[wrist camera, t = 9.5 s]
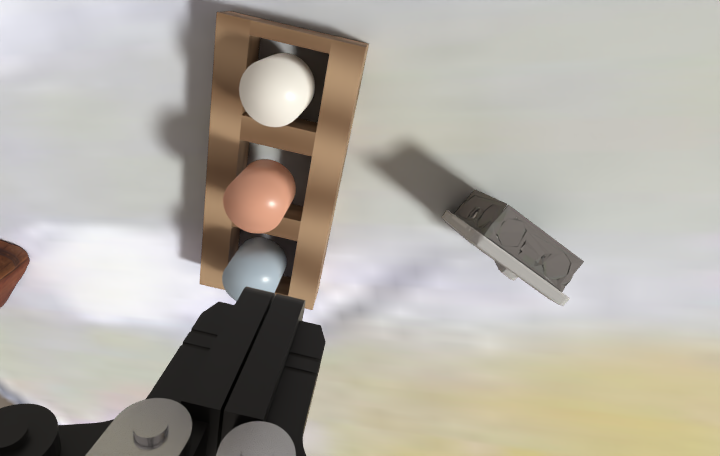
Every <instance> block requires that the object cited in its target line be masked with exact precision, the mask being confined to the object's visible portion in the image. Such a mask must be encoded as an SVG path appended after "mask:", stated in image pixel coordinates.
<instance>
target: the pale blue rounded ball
mask: <svg viewBox="0 0 720 456" xmlns="http://www.w3.org/2000/svg"><path fill="white" fill-rule="evenodd" d="M286 264H287V261H286V256H285V253H284V251H283V250H282V248H281V247H280V246H279V245H278V244H276V243H275V242H273V241H272V240H269V239H266V238H261V237H256V238H251V239H248V240H246V241H245V242H244V243H243V244H242V245H241V246H240V248H239V249H238V251H237V252H236V253H235V255H234V256H233V258H232V259H231V261H230V262H229V264H228V265H227V267H226V268H225V270H224V272H223V275H222V282H223V286H224V288H225V290H226V292H227V293H228V294H229V295H230V296H231V297H232V298H233V299H234V300H236V301H237V300H238V298H239V296H240V295H241V293H242V291H243V289H244V288H245V287H246V286H247V287H251V288H255V289H260V290H264V291H268V292H272V293H275V290H276V288H277V286H278V284H279V282H280V279H281V277H282V275H283V273H284V271H285V268H286Z"/></svg>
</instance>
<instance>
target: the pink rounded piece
mask: <svg viewBox="0 0 720 456" xmlns="http://www.w3.org/2000/svg"><path fill="white" fill-rule="evenodd" d="M295 193H296V185H295V181H294V178H293V176H292V174H291V173H290V172H289V170H288V169H287V168H286V167H285V166H283V165H282V164H280V163H278V162H276V161H273V160H269V159H261V160H256V161H254V162H252V163H250V164H249V165H248V166H247V167H246V168H245V169H244V170H243V171H242V172H241V173H240V174H239V175H238V176H237V177H236V178H235V179H234V180H233V181H232V182H231V183H230V184H229V185H228V187H227V188H226V190H225V193H224V197H223V205H224V209H225V212H226V214H227V216H228V218H229V219H230V220H231V221H232V222H233V223H234V224H235V225H236V226H237V227H239V228H240V229H242V230H244V231H247V232H250V233H265V232H269V231H271V230H273V229H274V228H275V227H277V226H278V224H279V223H280V222H281V220H282V218H283V217H284V215H285V213H286V211H287V210H288V208H289V206H290V204H291V203H292V201H293V199H294V197H295Z"/></svg>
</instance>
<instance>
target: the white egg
mask: <svg viewBox="0 0 720 456" xmlns="http://www.w3.org/2000/svg"><path fill="white" fill-rule="evenodd" d="M314 92H315V81H314V77H313V74H312V72H311V70H310V68H309V67H308V65H307V64H306V63H305V62H304V61H303V60H302V59H300V58H299V57H297V56H295V55H292V54H289V53H277V54H274V55H271V56H269V57H266V58H264V59H261V60H259V61H257V62H254V63H253V64H251V65H250V66H249V67H248V68H247V69H246V70H245V72H244V73H243V75H242V77H241V80H240V85H239V94H240V99H241V102H242V105H243V107H244V109H245V110H246V112H247V113H248V114H249V115H250V116H251V117H252V118H253V119H254V120H255V121H257V122H258V123H260V124H262V125H265V126H269V127H282V126H285V125H288V124H290V123H291V122H293V121H294V120H295V119H296V118H297V117H298V116H299V115H300V114H301V113H302V112H303V111H304V110H305V109H306V107H307V106H308V105H309V104H310V103H311V101H312V99H313V96H314Z"/></svg>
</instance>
